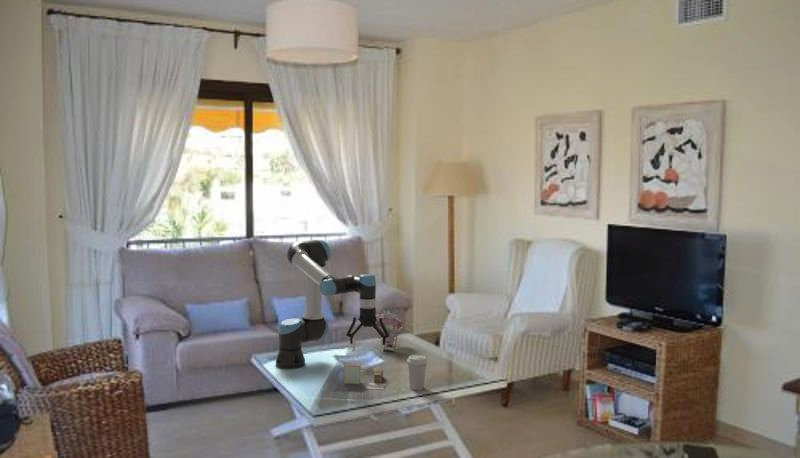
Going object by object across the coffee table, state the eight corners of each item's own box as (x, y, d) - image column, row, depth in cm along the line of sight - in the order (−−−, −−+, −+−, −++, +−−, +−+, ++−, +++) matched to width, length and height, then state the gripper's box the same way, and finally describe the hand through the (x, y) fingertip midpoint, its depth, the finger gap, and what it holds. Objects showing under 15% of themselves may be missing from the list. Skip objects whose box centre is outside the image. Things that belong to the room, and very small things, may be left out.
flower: (421, 345, 382) (407, 303, 387) (400, 350, 362) (385, 306, 368) (393, 355, 391) (380, 314, 397) (371, 361, 372) (358, 318, 377)
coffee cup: (409, 392, 310) (409, 360, 309) (404, 385, 319) (405, 354, 318) (429, 391, 312) (429, 359, 310) (424, 384, 321) (424, 353, 320)
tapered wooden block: (371, 378, 330) (371, 368, 329) (388, 378, 329) (388, 368, 328) (366, 390, 312) (366, 380, 311) (383, 391, 311) (383, 381, 311)
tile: (344, 382, 321) (344, 364, 320) (360, 382, 321) (360, 364, 320) (343, 383, 319) (343, 365, 318) (360, 384, 318) (360, 366, 317)
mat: (338, 382, 322) (338, 381, 322) (367, 383, 321) (367, 382, 321) (333, 392, 309) (333, 391, 309) (363, 393, 308) (363, 392, 308)
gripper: (340, 308, 313) (340, 352, 315) (392, 309, 310) (393, 354, 312) (343, 304, 320) (343, 348, 322) (395, 306, 317) (395, 349, 319)
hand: (367, 351), depth 317 cm, fingers open, 13 cm apart
